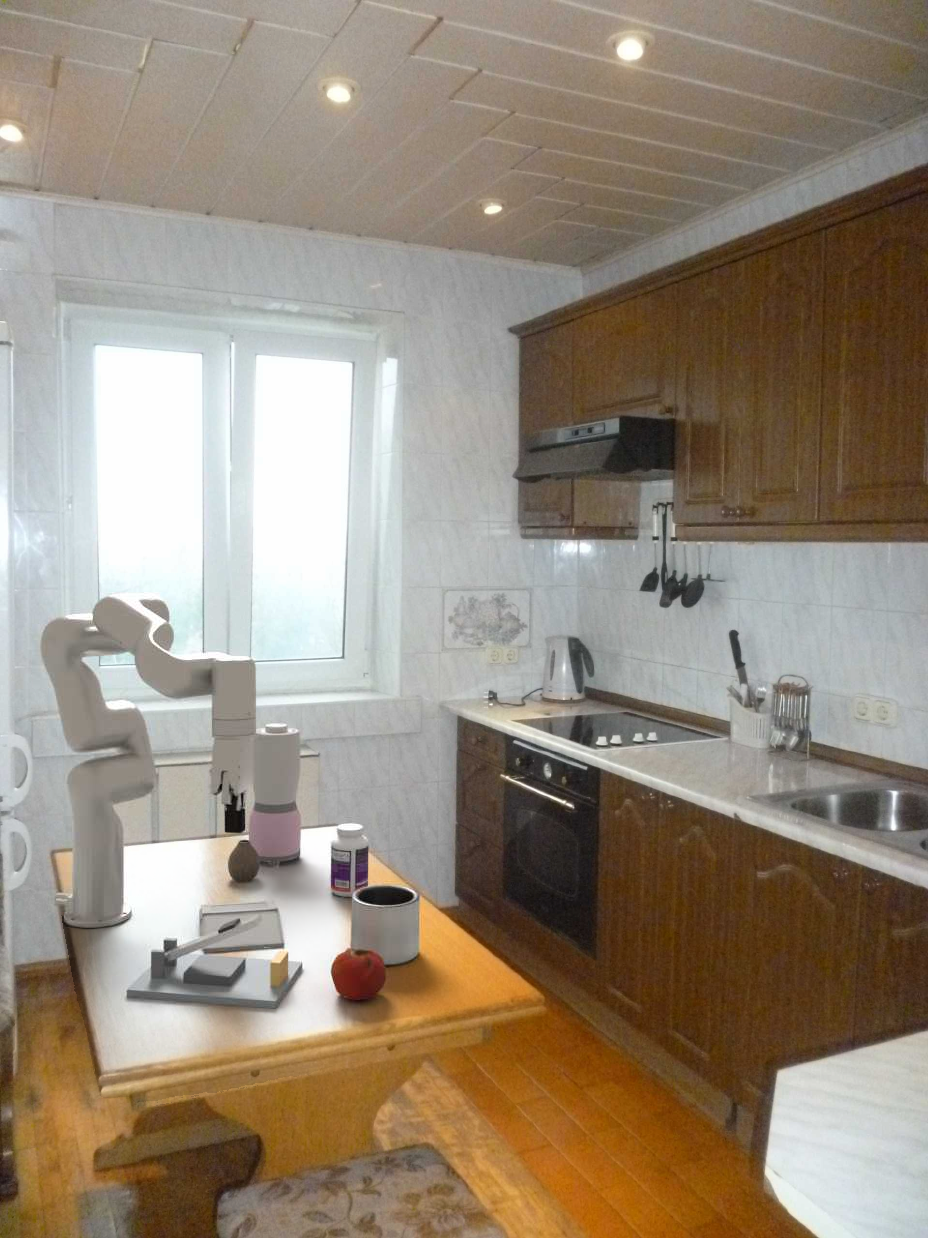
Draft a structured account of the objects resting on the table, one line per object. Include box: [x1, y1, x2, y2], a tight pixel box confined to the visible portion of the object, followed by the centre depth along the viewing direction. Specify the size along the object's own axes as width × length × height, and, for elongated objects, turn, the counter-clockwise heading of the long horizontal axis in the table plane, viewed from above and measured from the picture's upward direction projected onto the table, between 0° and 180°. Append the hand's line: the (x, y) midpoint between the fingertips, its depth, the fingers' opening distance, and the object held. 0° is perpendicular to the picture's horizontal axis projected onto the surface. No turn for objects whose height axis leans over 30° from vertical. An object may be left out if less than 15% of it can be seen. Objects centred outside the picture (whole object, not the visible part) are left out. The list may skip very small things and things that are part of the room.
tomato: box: [330, 947, 387, 1001], centre depth 172 cm, size 9×9×8 cm
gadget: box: [199, 900, 285, 953], centre depth 201 cm, size 23×15×4 cm, turn 15°
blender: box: [248, 723, 302, 868], centre depth 245 cm, size 16×12×32 cm
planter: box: [349, 884, 421, 967], centre depth 189 cm, size 12×12×11 cm
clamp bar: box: [165, 914, 263, 963], centre depth 175 cm, size 19×4×2 cm, turn 83°
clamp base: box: [126, 937, 303, 1009], centre depth 176 cm, size 25×16×6 cm, turn 83°
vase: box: [227, 839, 261, 883], centre depth 229 cm, size 7×7×9 cm
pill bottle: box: [330, 822, 370, 898], centre depth 223 cm, size 8×8×14 cm
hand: (235, 831), depth 181 cm, fingers closed
